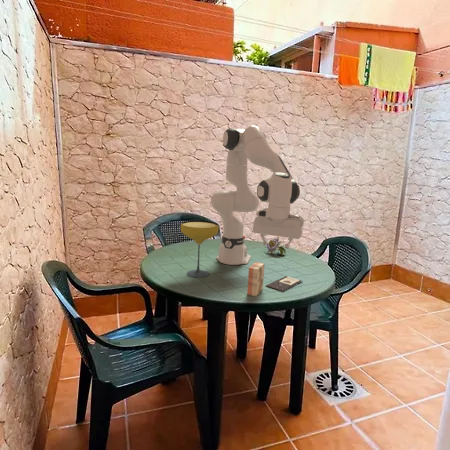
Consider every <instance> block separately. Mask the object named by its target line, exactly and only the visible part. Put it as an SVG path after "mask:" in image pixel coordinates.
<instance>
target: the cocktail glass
mask: <svg viewBox="0 0 450 450" xmlns="http://www.w3.org/2000/svg"><path fill="white" fill-rule="evenodd" d="M219 231H220V230H219V224H218V223H217V222H214V221H209V220H198V219H196V220H185V221H182V222H181V223H180V232H181V234H183V235H184V236H186V237H188V238H189V239H192V240H193V241H194V242H195V243H196V244H197V245H198V247H197V251H198V252H197V265H196V266H197V267H196V269H192V270H191V269H190V270H188V271H187V273H186V275H187V276H188V277H191V278H195V279H196V278H197V279H198V278H200V279H201V278H206V277H208V276H209V275H210V272H208V271H207V270H203V269H200V247H201V246H200V245H202V244H203V243H204V242H205V241H206V240H208V239H211V238H213V237H214V236H217V234H218V233H219Z"/></svg>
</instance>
